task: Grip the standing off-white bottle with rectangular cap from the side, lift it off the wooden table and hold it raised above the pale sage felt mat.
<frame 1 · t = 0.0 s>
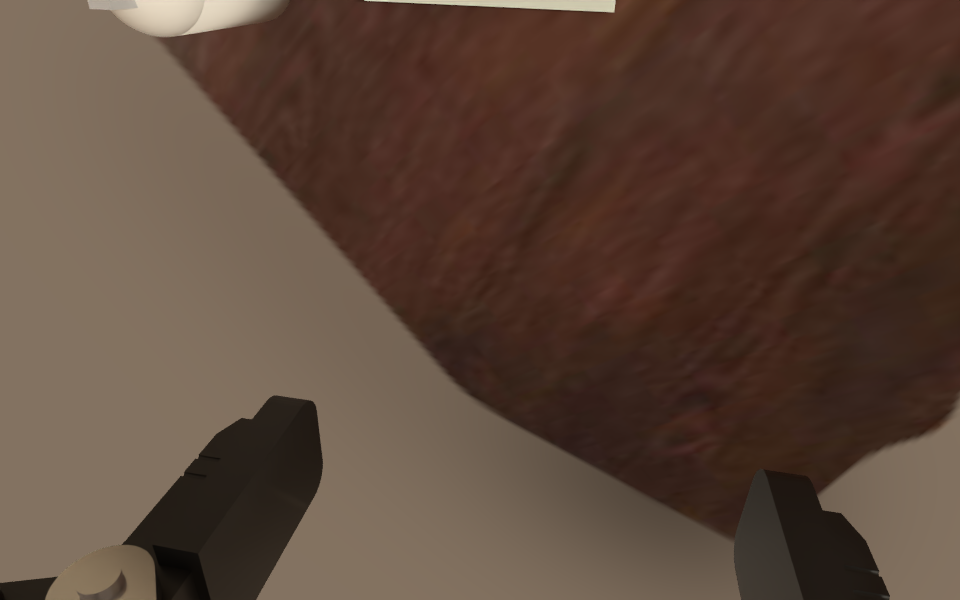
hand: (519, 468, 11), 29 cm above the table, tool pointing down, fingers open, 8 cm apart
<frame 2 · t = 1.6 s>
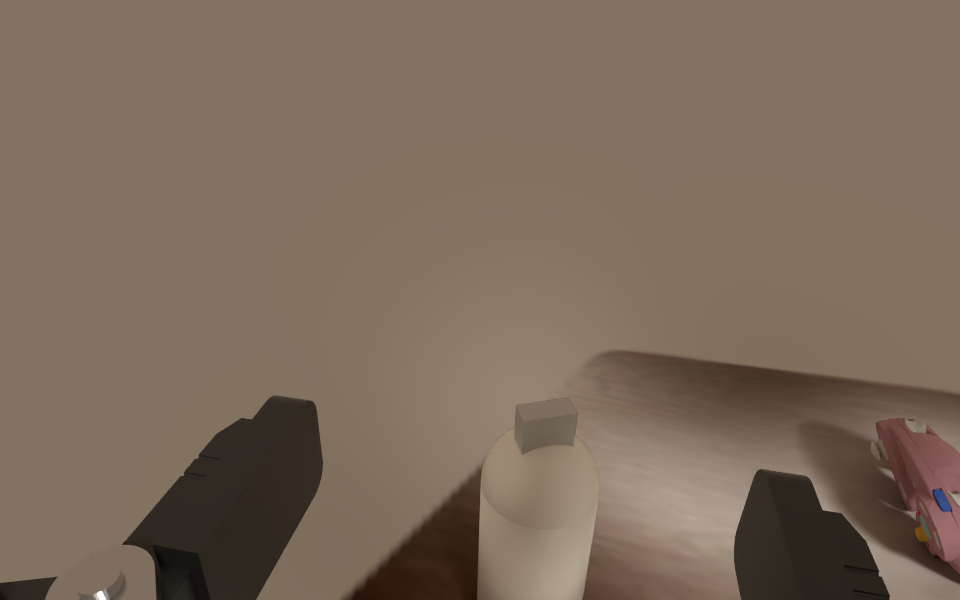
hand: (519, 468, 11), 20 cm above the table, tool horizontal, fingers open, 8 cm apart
video game controller: (926, 530, 36), on the table
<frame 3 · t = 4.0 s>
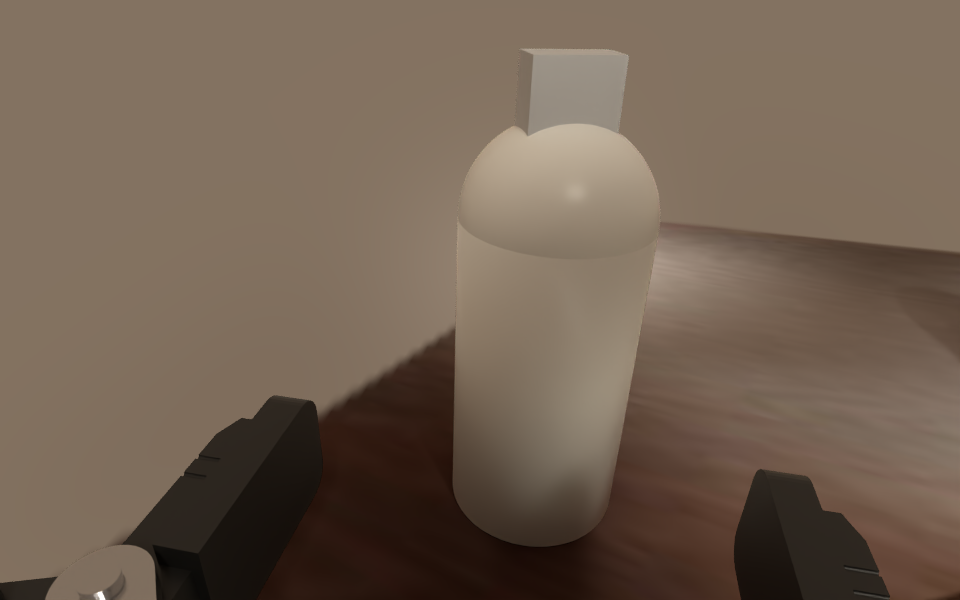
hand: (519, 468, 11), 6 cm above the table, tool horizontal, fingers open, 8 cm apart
bottle with rectangular cap: (530, 482, 20), on the table
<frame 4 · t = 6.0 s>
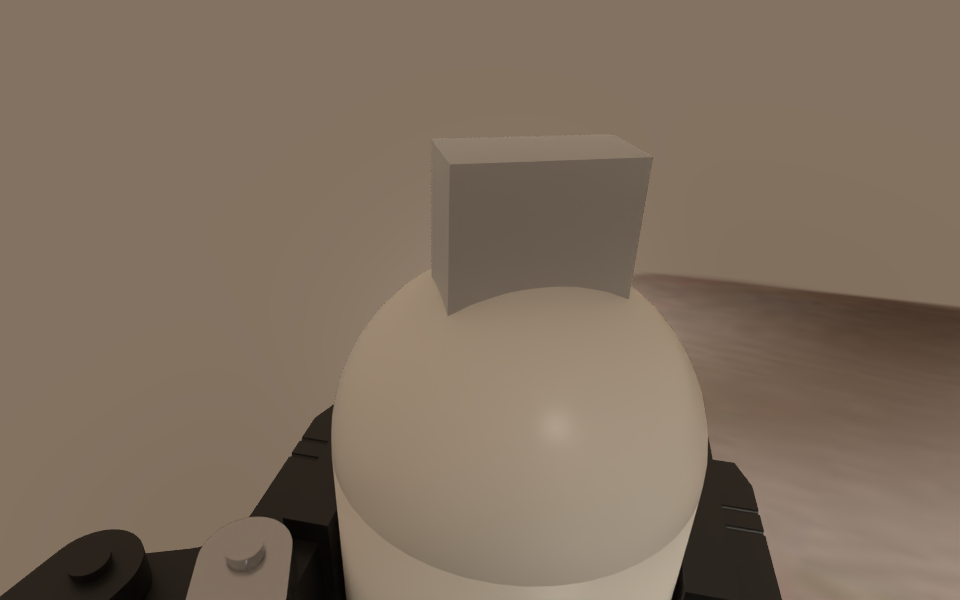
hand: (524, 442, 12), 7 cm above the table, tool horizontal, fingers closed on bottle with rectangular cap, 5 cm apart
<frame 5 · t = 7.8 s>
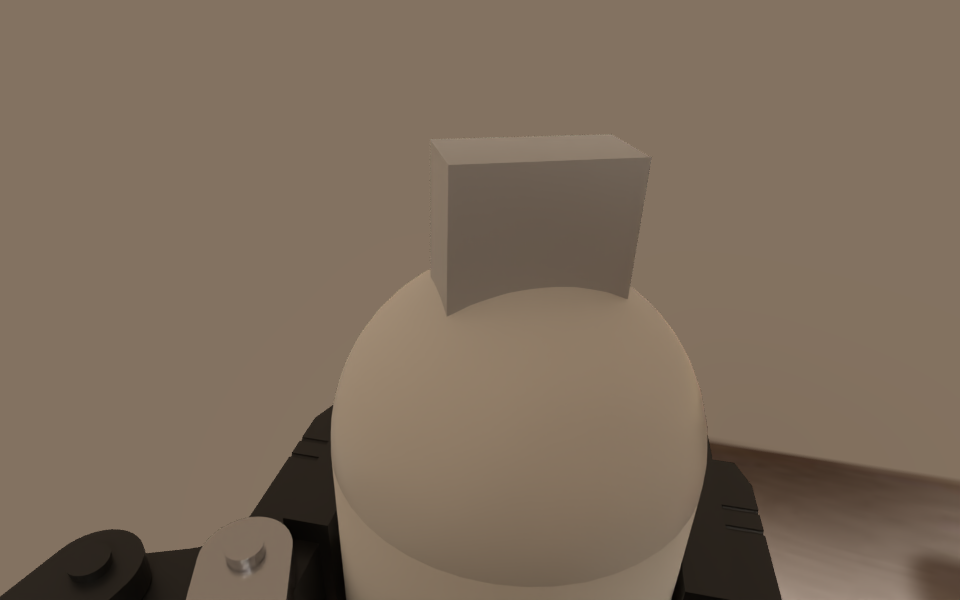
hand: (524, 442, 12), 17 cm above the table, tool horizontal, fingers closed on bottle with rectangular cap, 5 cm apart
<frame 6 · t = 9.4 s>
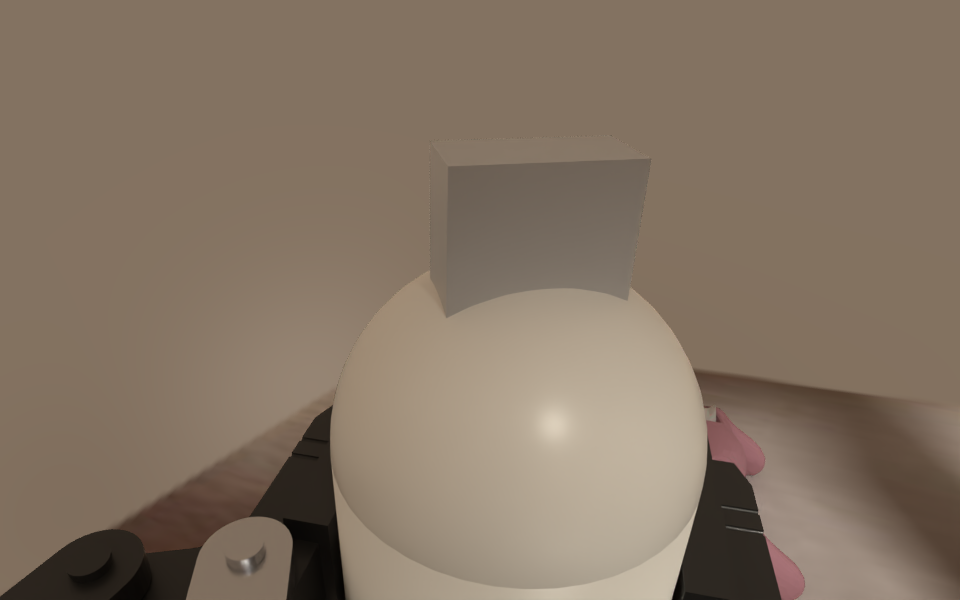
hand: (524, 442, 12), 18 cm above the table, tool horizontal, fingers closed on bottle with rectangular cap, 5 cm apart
video game controller: (719, 526, 34), on the table
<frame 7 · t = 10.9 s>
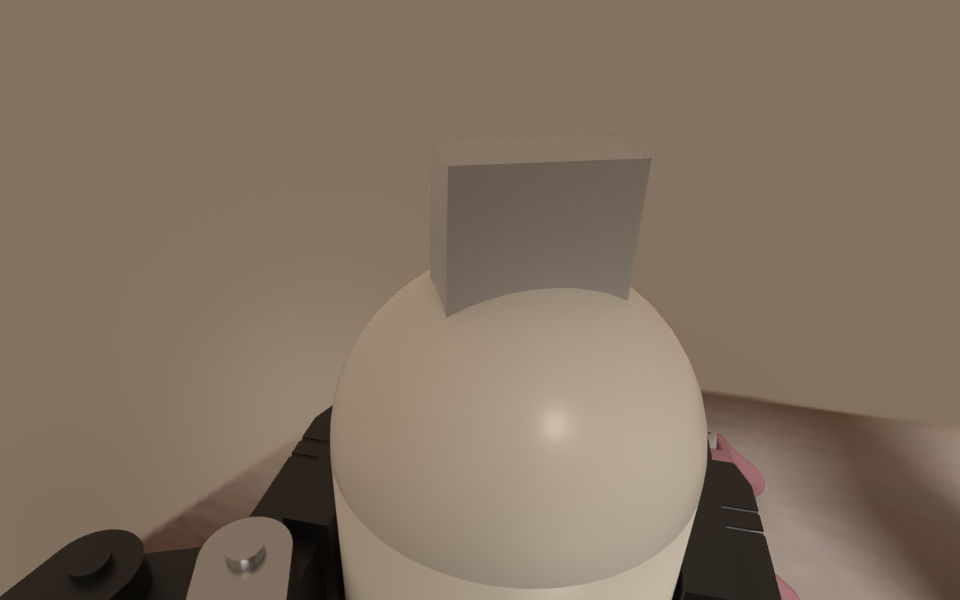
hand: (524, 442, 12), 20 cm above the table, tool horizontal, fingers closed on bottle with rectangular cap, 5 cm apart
video game controller: (719, 549, 35), on the table
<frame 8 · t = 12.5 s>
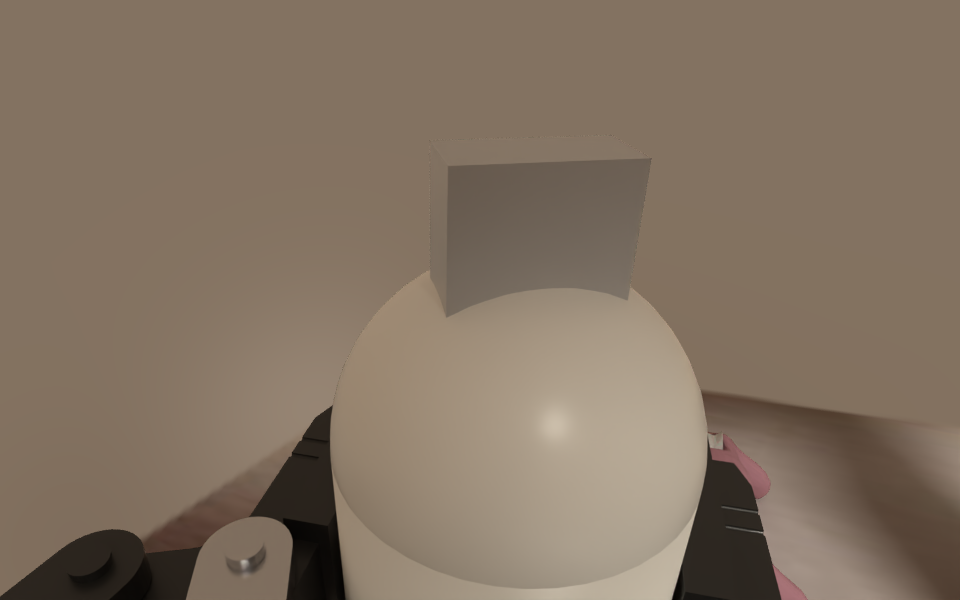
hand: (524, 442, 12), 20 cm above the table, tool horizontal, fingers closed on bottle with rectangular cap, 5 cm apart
video game controller: (726, 550, 35), on the table
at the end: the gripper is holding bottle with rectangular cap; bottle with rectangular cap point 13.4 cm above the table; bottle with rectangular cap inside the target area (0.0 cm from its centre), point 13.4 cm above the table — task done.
